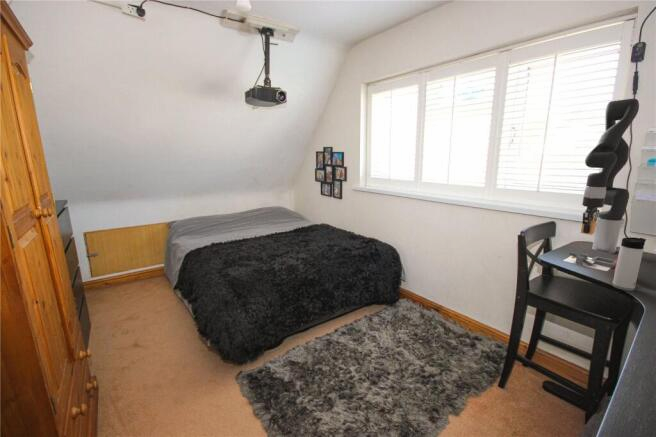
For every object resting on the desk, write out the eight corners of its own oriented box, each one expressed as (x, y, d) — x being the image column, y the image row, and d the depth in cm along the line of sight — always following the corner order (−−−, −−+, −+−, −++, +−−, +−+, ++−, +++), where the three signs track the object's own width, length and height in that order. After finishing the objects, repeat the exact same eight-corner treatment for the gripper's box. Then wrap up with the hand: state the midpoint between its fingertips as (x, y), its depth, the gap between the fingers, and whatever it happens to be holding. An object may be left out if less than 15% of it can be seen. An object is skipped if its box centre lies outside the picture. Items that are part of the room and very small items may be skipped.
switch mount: (580, 260, 146) (581, 253, 145) (586, 261, 144) (587, 255, 143) (575, 263, 142) (576, 256, 142) (581, 264, 140) (583, 257, 140)
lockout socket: (595, 259, 147) (596, 256, 147) (617, 264, 141) (618, 260, 141) (590, 262, 143) (590, 259, 143) (612, 268, 137) (613, 264, 136)
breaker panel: (573, 256, 155) (574, 253, 154) (616, 265, 142) (616, 262, 142) (562, 263, 146) (563, 259, 146) (606, 273, 134) (607, 269, 133)
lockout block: (583, 231, 149) (585, 219, 148) (594, 233, 146) (596, 221, 145) (580, 233, 147) (582, 220, 146) (591, 234, 144) (593, 222, 142)
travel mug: (639, 291, 117) (651, 241, 112) (619, 290, 118) (630, 240, 114) (627, 284, 123) (638, 236, 118) (608, 283, 124) (618, 235, 120)
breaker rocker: (572, 252, 147) (573, 250, 146) (593, 264, 141) (595, 261, 140) (569, 254, 145) (570, 252, 144) (590, 266, 139) (592, 263, 138)
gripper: (589, 194, 149) (583, 228, 153) (578, 196, 142) (572, 233, 145) (609, 195, 143) (602, 231, 147) (599, 198, 135) (592, 236, 139)
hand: (587, 232), depth 146 cm, fingers closed on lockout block, 4 cm apart
